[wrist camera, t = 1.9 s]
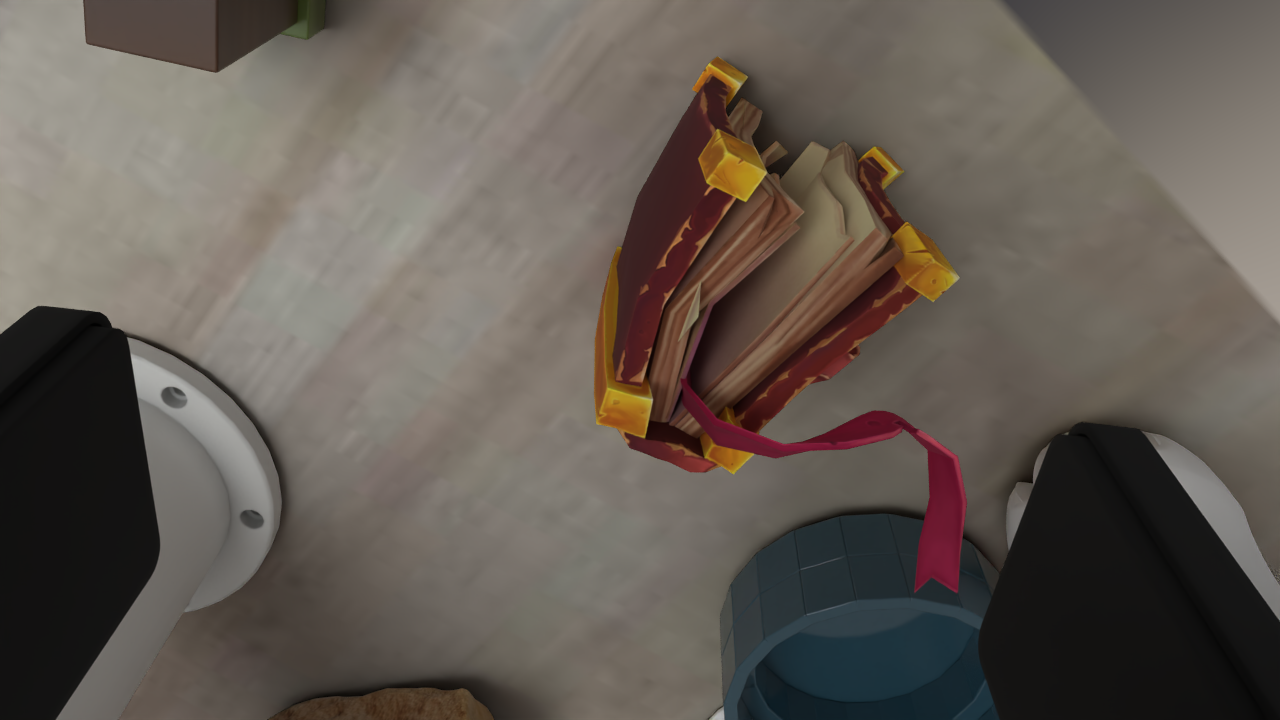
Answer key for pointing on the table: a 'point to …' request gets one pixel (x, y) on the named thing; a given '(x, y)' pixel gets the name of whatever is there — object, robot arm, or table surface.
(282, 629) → the table surface
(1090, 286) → the table surface
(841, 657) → the bowl
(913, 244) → the book monster
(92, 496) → the robot arm
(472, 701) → the decorative rock
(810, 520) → the table surface
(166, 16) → the scrub brush
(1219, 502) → the water bottle
